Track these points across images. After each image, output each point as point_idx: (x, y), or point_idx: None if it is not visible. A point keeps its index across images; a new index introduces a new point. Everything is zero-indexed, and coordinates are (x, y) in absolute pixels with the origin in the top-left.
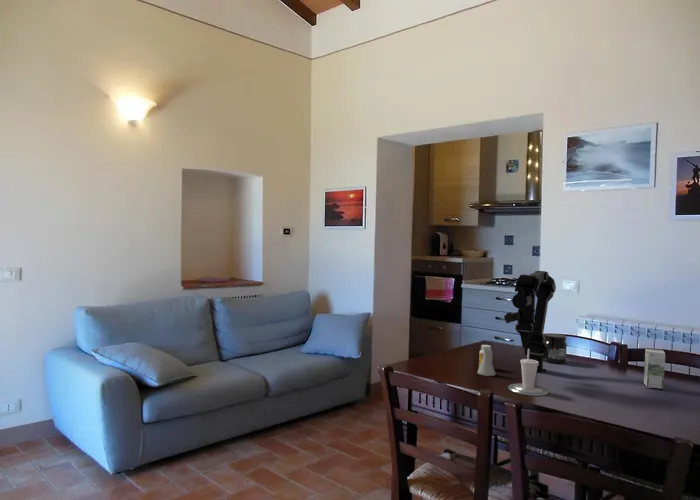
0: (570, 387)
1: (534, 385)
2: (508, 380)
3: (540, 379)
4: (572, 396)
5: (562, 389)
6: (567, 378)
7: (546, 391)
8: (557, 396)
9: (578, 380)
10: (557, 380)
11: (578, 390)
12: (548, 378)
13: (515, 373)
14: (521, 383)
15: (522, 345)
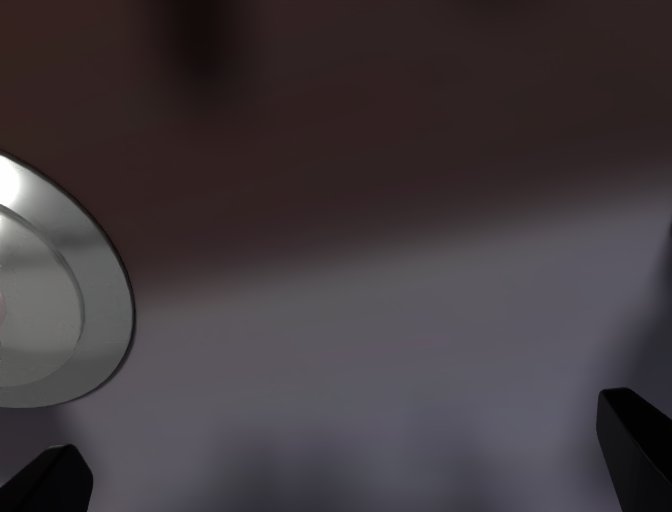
0: (322, 470)
1: (65, 323)
2: (116, 52)
3: (407, 287)
4: (114, 499)
5: (225, 445)
6: (588, 428)
7: (40, 396)
8: (28, 447)
9: (568, 482)
10: (469, 388)
11: (284, 507)
12: (492, 329)
13: (500, 18)
14: (20, 227)
15: (14, 481)
